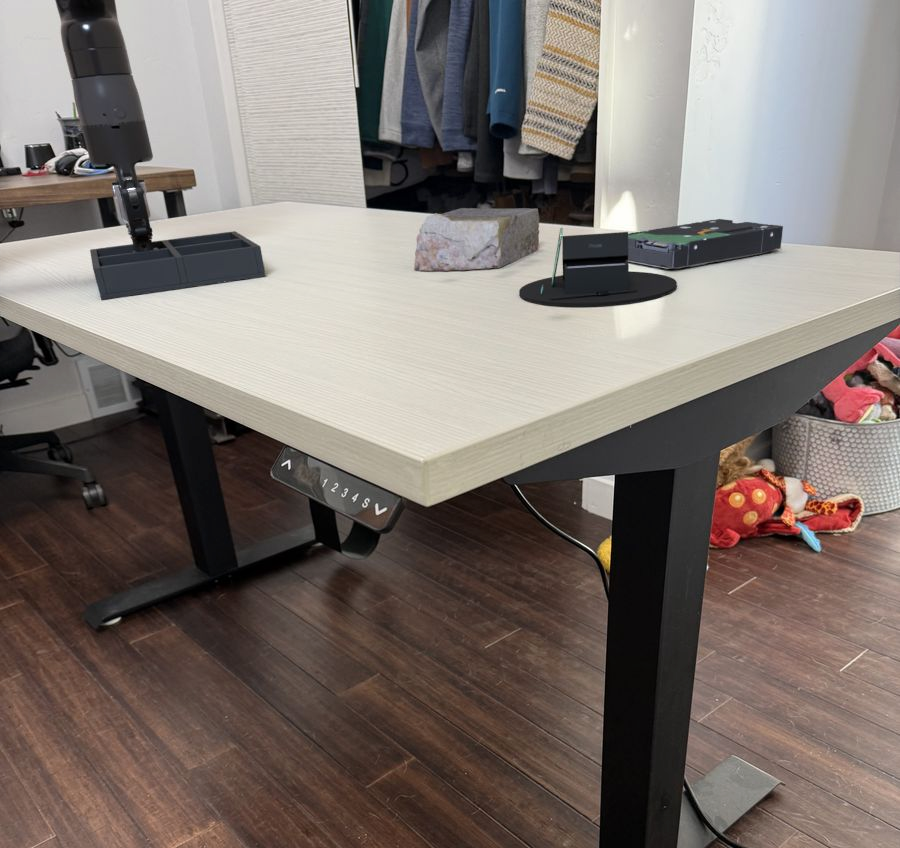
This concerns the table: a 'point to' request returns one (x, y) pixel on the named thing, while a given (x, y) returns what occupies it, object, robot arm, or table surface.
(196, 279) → the tray
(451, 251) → the geological specimen
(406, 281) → the table surface
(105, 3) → the robot arm
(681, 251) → the disk drive
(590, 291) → the black display stand
